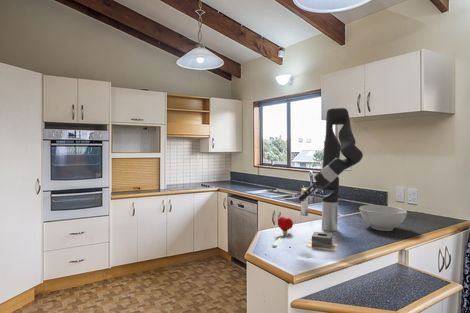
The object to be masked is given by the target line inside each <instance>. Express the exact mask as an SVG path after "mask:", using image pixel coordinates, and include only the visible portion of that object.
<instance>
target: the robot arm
mask: <svg viewBox="0 0 470 313" xmlns="http://www.w3.org/2000/svg"><path fill="white" fill-rule="evenodd" d="M349 114H350V113H349V111H348V109H347V108H345V107H330V108H328V109H327V112H326V117H325V118H326V119H325V137H324V138H325V139H324V146H323V154H322V155H323V156H322V157H323V158H322V168H321V169H320V171H319V172H318V173H316V174H315V175H314V176H313V178H314V180H315V182H312V183H311V184H310V186H308V187H307V188H306V189H307V191H308V193H307V191H306V192H304V194H302V195H301V194H300V196H299V197H298V200H299V201H300V202H301V201H303V200H304V199H305V198H306V197H308V198H309V196H310V195H312V194H314V193H315V192H316V191H318V190H319V189H321V190H322V191H331V192H329V194H325V195H323V196H322V198H321V200H322V201H321V202H322V203H321V229H322V230H323V231H327V232H337V231H338V225H339V224H338V222H339V215H338V214H339V193H340V192H339V188H340V178H339V176H340V175H341V174H342V173H343V172H344V171H346V170H347V169H349V168H351V167H353V166H355V165H357V164H358V163H360V161H361V160H362V159H363V157H364V154H363V152H362V150H361V149H360V148H358V147H357V146H356V139H355V136H354V133H353V131H352V125H351V120H350V115H349ZM335 125H339V126H340V125H342V126H341V128H340V129H339V131H338V134H337V135H338V136H336V134H335V132H334V128H333V127H334V126H335ZM337 137H338V138H337ZM341 155H342V156H344V158H343V159H342V158H340V157H341Z"/></svg>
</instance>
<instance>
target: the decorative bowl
mask: <svg viewBox="0 0 470 313" xmlns="http://www.w3.org/2000/svg"><path fill="white" fill-rule="evenodd" d="M359 213H360V214H361V217H362V218H363V220H364V221H365V222H366V224H368V225H369V226H371V227H370V228H371V229H373V230H375V231H376V230H377V231H381V232H390V231H393V230H394V228H397V227H398V226H400V225H401V224H402V223H403V221H404V220H405V219H406V217H407V214H408V211H407V210H406V209H403V208H400V207H395V206H389V205H388V206H387V205H378V204H377V205H376V204H373V205H371V204H369V205H367V204H366V205H361V206H360V207H359Z"/></svg>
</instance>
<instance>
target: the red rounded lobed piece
mask: <svg viewBox="0 0 470 313" xmlns="http://www.w3.org/2000/svg"><path fill="white" fill-rule="evenodd" d="M277 226H278V228H279V229H280V230H281V231H282V235H283V236H287V235H288V230H291V229H292V227H293V226H294V222H293V220H292V219H291V218H290V217H288V218H286V217H285V216H281V217H279V218H278V219H277Z"/></svg>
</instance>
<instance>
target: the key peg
mask: <svg viewBox="0 0 470 313" xmlns="http://www.w3.org/2000/svg"><path fill="white" fill-rule="evenodd" d="M300 190H301V192H300V193H301V194H300V196H301V195H302V194H304V192H306V191H307V188H301V189H300ZM307 193H308V191H307ZM300 216H303V217H308V216H309V196H308V197H306V198H305V199H304V200H303V201H300Z"/></svg>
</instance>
